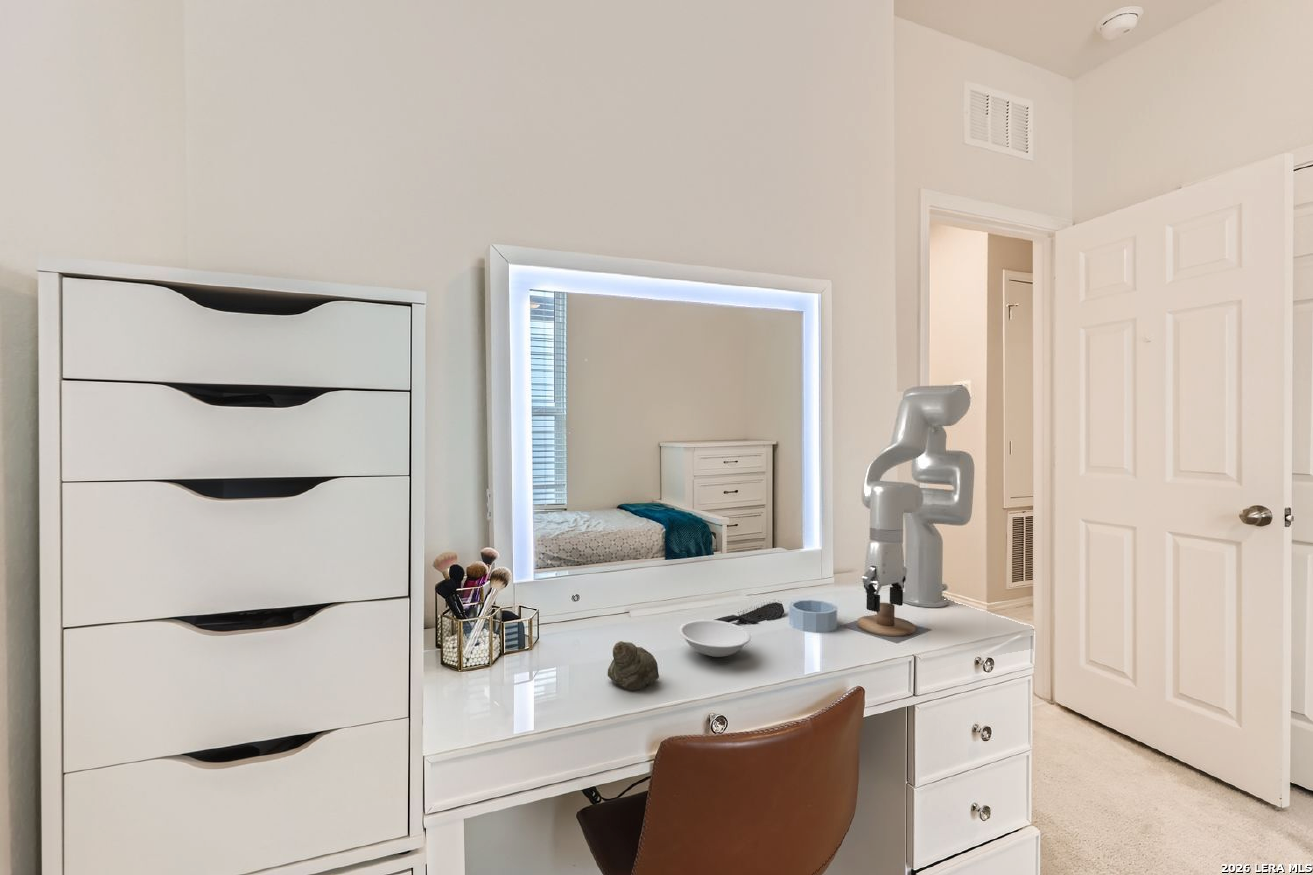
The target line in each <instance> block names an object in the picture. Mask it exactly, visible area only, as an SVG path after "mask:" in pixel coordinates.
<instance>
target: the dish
mask: <svg viewBox="0 0 1313 875" xmlns="http://www.w3.org/2000/svg"><path fill="white" fill-rule="evenodd" d="M678 633H679V635H680V636H681V637H682V638H683V639H684V640H685V641H686V643H687V644H688V645H689V646H690V647H691V648H692V649H693V650H695V651H696V652H698V653H700V654H702V655H706V656H710V657H712V658H716V657H718V658H719V657H720V658H721V657H727V656H731V655H733V654H736V653H737V652H738V651H741V649H742V648H743V647H744V645H747V644H748V643H749V642H750V640H751V639H752V638H751V637H752V636H751V633H750V632H749V631H748V630H746V629H745V628H743V627H742V626H739V625H737V624H735V623H732V622H729V623H728V622H724V621H717V620H715V619H697V620H692V621H691V620H690V621H687V622H685V623H682V624H681V625H680V626H679V628H678Z"/></svg>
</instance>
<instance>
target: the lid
mask: <svg viewBox="0 0 1313 875" xmlns="http://www.w3.org/2000/svg"><path fill="white" fill-rule="evenodd" d="M895 607H896V605H895V604H891V603H890V602H880V611H879V612H876V615H875V614H873V615H872V614H871V615H864V616H861V617H858V619H856V621H857V626H858V628H859V629H861V630H863V631H865V632H868V633H871V634H875V635H880V636H887V637H904V636H909V635H912V634H913V633H914V632H915V626H914V625H915V624H914V623H913V622H911V621H909V620H907V619H904V618H900V617H897V616H896V617H895Z"/></svg>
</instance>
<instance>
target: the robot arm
mask: <svg viewBox="0 0 1313 875" xmlns="http://www.w3.org/2000/svg"><path fill="white" fill-rule="evenodd" d="M970 406H971V395H970V391H969V390H968V388H967V387H966V386H964V385H961V384H949V385H946V384H945V385H943V384H942V385H920V386H913V387H909V388H907V389H906V390H905V391H904V392H903V394H902V399H901V401H900V403H899V405H898V409H897V414H896V418H895V422H894V423H895V424H894V428H893V432H892V437H891V441H890V443H889V445H887V446H886V447H885V448H883V449H882V450H881V451H879V452H878V453H877V454H876V455H875V457H873V459H872V460H871V461H870V462H869V464H868V466H867V468H866V471H865V474H864V479H863V483H862V486H861V487H862V488H861V496H860V497H861V502H862V504H863V506H864V507H865V508H866V509H869V541H868V543H867V547H866V554H865V562H864V563H865V564H864V574H863V575H862V577H861V580H862V582H863V588H864V589H865V593H866V606H865V607H866V610H867V611H871V612H875V613H877V612H879V611H880V603H881V595H880V594H879V593H880V591H881V590H882V587H884V586H888V585H889V603H891V604H893V605H895V606H899V607H900V606H903V603H904V604H907V605H911V606H916V607H921V608H943V607H946V606H948V604H949V599H948V598H947V597H945V596H944V595H943V592H945V591H947V590H948V587H949V586H948V585H947V584H946V583H943V560H944V559H943V551H944V550H943V549H944V548H943V547H944V542H943V538H942V535H941V533H940V532H939V530H938V529H937V527H936V526H935V525H937V524H938V525H949V526H966V525H967V524H969V522H970V521H971V518H972V516H973V513H972V512H973V503H974V501H973V500H974V488H975V486H974V485H975V462H974V459H973V457H972V455H971V454H970V453H969V452H967V451H963V450H954V449H953V450H951V449H950V450H949V449H948V450H947V439H948V438H947V437H948V436H947V432H946V429H945V428H944V427H951V426H955V425H956V424H957V423H959V421H961V420H962V419H963V418H964V417H965V416H966V414H967V413H968V411H969V409H970ZM910 461H911V470H910V471H911V472H910V473H911V476H912V478H913V480H914V481H916V482H917V483H921V484H922V483H923V484H928V485H929V484H930V485H944V486H945V485H946V486H947V485H948V486H953V489H944V488H943V489H942V488H935V487H934V488H933V487H920V486H918V485H917V484H915V483H912V482H903V481H901V482H900V481H890V480H888V481H887V480H881V479H882V477H883V475H884V474H885V473H886V472H888V471H890V470H891V469H892V468H894V467H897V466H900V465H902V464H904V463H906V462H910ZM934 524H935V525H934ZM904 526H905V527H904ZM904 528H905V545H903V543H904ZM904 546H905V547H904ZM904 548H905V553H904ZM904 554H905V555H904ZM904 557H905V558H904ZM944 599H946V600H944Z"/></svg>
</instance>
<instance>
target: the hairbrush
mask: <svg viewBox="0 0 1313 875" xmlns="http://www.w3.org/2000/svg"><path fill="white" fill-rule="evenodd" d="M776 600H777V599H776V598H775V599H773V602H769V603H766V604H762V603H761V604H760V605H761V606H760V607H758V606H755V607H756V608H752V607H753V606H751V608H750V607H749V608H745V609H744V611H742V610H740V611H738V612H737V614H738V615H735V614H730V615H727V616H722V617H719V618H716V619H714V620H717V621H724V622H728V623H732V622H736V621H740V622H743V623H745V624H750V625H760V623H761V622H765V621H767V622H771V621H776V620H779V619H781V617H782V616H783V615H784V613H785V608H784V605H783V603H782V602H778V601H776ZM748 609H749V610H748ZM751 609H752V610H751Z"/></svg>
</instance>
